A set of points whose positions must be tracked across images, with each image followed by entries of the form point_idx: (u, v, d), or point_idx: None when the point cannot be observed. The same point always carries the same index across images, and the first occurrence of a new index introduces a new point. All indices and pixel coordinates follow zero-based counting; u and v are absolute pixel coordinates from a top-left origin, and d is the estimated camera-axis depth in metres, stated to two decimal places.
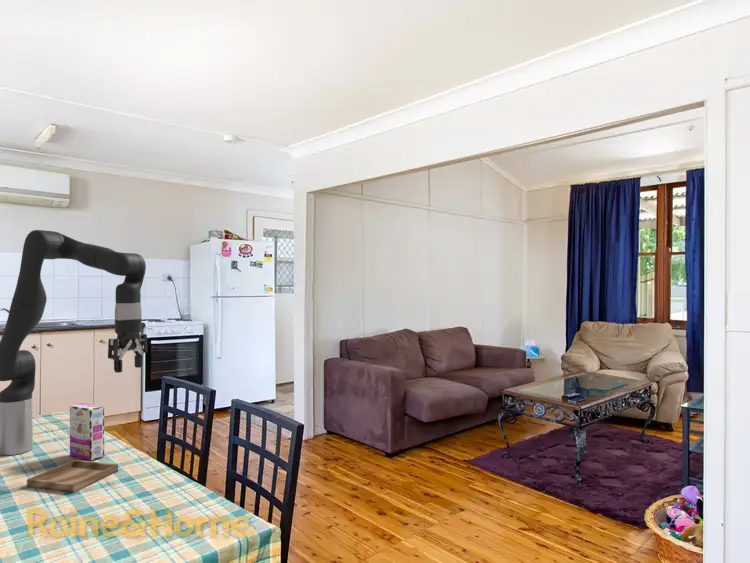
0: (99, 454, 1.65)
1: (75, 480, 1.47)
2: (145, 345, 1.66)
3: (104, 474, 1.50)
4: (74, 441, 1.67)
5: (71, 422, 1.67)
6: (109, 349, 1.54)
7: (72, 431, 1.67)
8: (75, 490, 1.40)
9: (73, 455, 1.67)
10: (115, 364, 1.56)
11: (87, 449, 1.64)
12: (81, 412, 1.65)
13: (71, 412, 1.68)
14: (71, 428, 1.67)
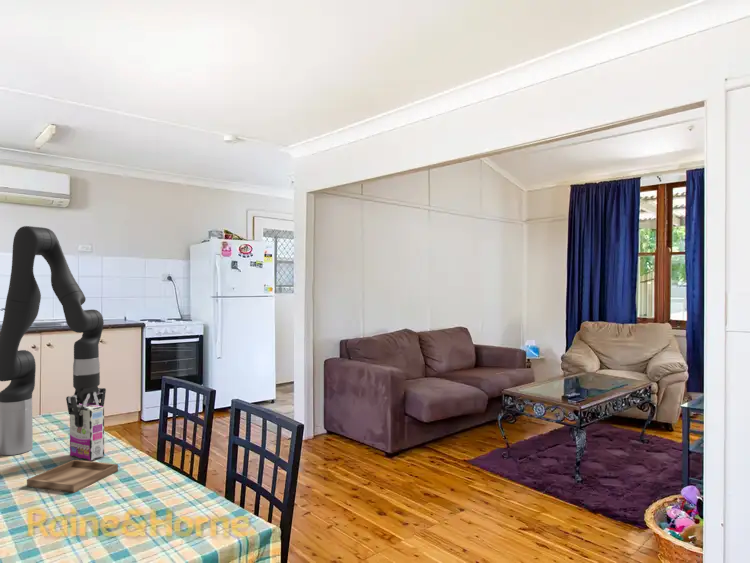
0: (99, 454, 1.65)
1: (75, 480, 1.47)
2: (102, 399, 1.72)
3: (104, 474, 1.50)
4: (74, 441, 1.67)
5: (71, 422, 1.67)
6: (68, 406, 1.61)
7: (72, 431, 1.67)
8: (75, 490, 1.40)
9: (73, 455, 1.67)
10: (76, 419, 1.64)
11: (87, 449, 1.64)
12: None
13: None
14: (71, 428, 1.67)
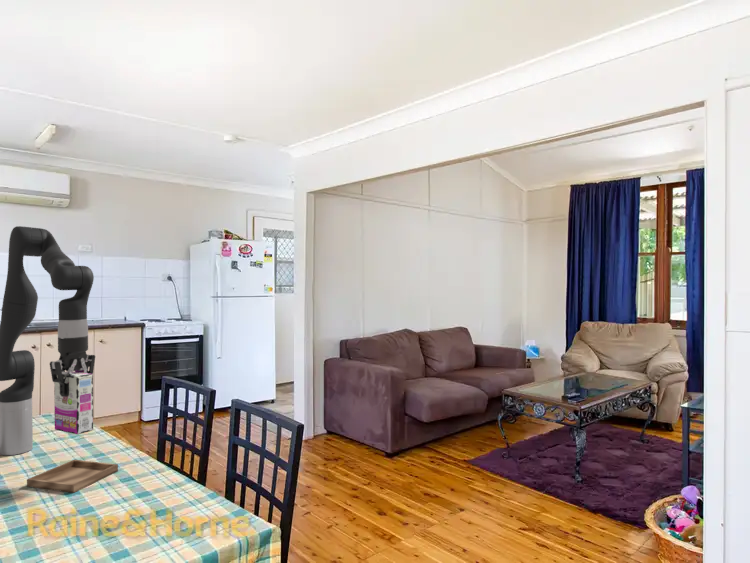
0: (87, 427, 1.47)
1: (75, 480, 1.47)
2: (91, 367, 1.54)
3: (104, 474, 1.50)
4: (59, 413, 1.48)
5: (56, 392, 1.49)
6: (52, 373, 1.43)
7: (57, 402, 1.49)
8: (75, 490, 1.40)
9: (58, 428, 1.48)
10: (61, 388, 1.45)
11: (73, 421, 1.45)
12: None
13: None
14: (56, 398, 1.49)
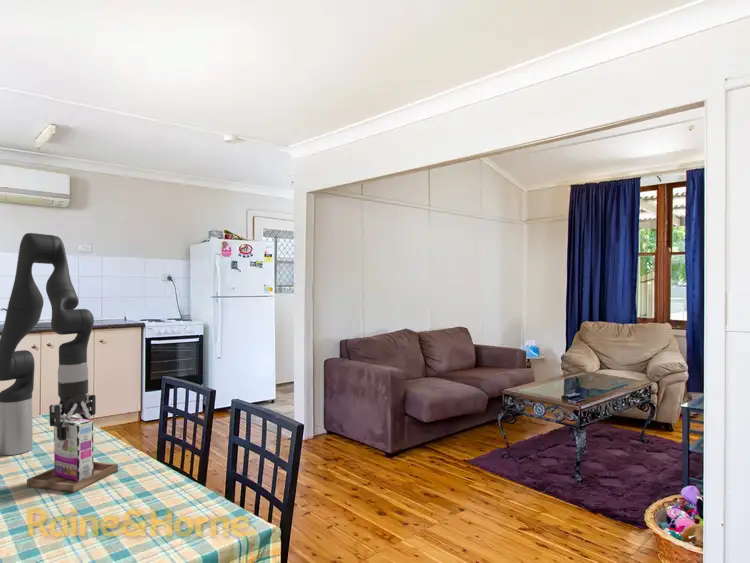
0: (88, 474, 1.47)
1: None
2: (93, 407, 1.54)
3: (104, 474, 1.50)
4: (59, 460, 1.48)
5: (56, 439, 1.49)
6: (51, 416, 1.43)
7: (57, 448, 1.49)
8: (75, 490, 1.40)
9: (58, 475, 1.49)
10: (58, 432, 1.44)
11: (74, 469, 1.46)
12: (67, 428, 1.47)
13: (55, 427, 1.49)
14: (56, 445, 1.49)
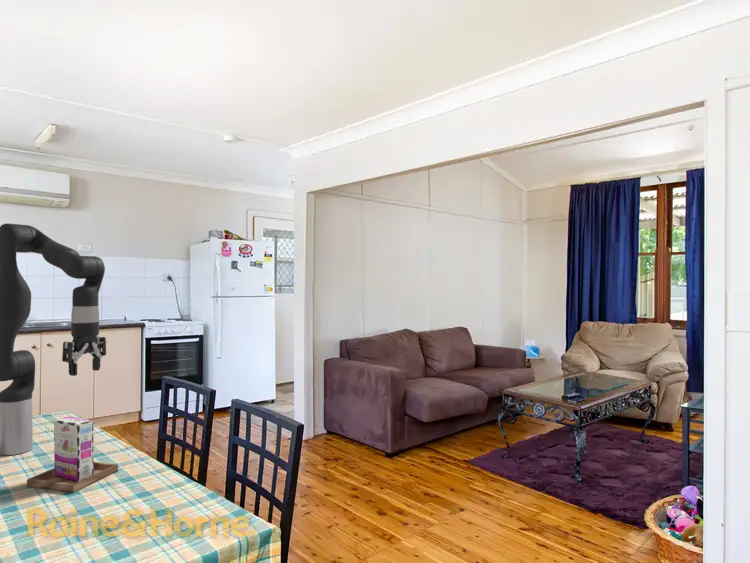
0: (88, 474, 1.47)
1: None
2: (103, 348, 1.66)
3: (104, 474, 1.50)
4: (59, 460, 1.48)
5: (56, 439, 1.49)
6: (63, 352, 1.54)
7: (57, 448, 1.49)
8: (75, 490, 1.40)
9: (58, 475, 1.49)
10: (70, 367, 1.55)
11: (74, 469, 1.46)
12: (68, 428, 1.47)
13: (55, 427, 1.49)
14: (56, 445, 1.49)
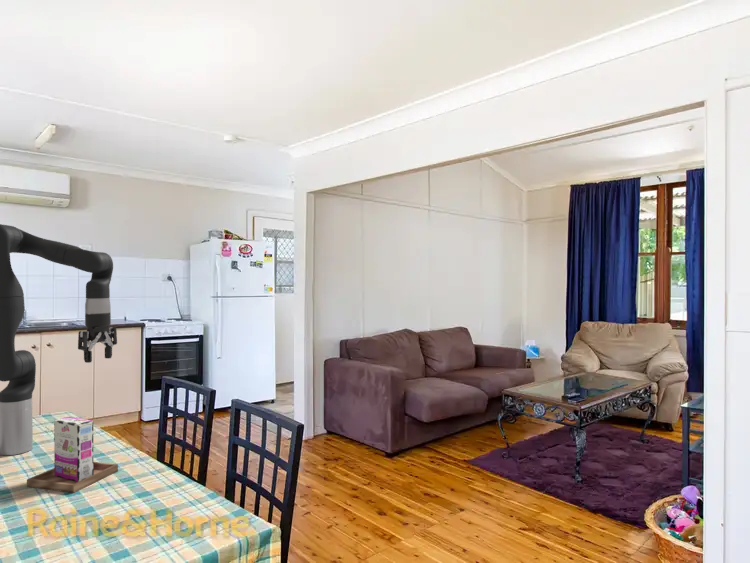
0: (88, 474, 1.47)
1: None
2: (114, 337, 1.79)
3: (104, 474, 1.50)
4: (59, 460, 1.48)
5: (56, 439, 1.49)
6: (79, 341, 1.67)
7: (57, 448, 1.49)
8: (75, 490, 1.40)
9: (58, 475, 1.49)
10: (85, 355, 1.68)
11: (74, 469, 1.46)
12: (68, 428, 1.47)
13: (55, 427, 1.49)
14: (56, 445, 1.49)
